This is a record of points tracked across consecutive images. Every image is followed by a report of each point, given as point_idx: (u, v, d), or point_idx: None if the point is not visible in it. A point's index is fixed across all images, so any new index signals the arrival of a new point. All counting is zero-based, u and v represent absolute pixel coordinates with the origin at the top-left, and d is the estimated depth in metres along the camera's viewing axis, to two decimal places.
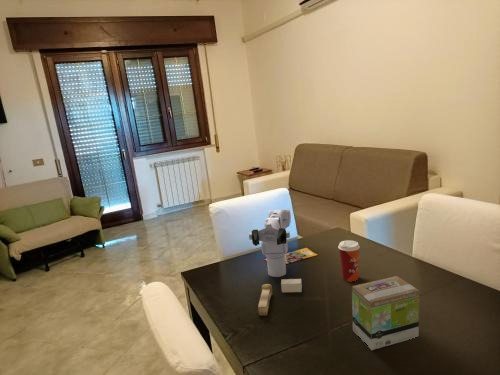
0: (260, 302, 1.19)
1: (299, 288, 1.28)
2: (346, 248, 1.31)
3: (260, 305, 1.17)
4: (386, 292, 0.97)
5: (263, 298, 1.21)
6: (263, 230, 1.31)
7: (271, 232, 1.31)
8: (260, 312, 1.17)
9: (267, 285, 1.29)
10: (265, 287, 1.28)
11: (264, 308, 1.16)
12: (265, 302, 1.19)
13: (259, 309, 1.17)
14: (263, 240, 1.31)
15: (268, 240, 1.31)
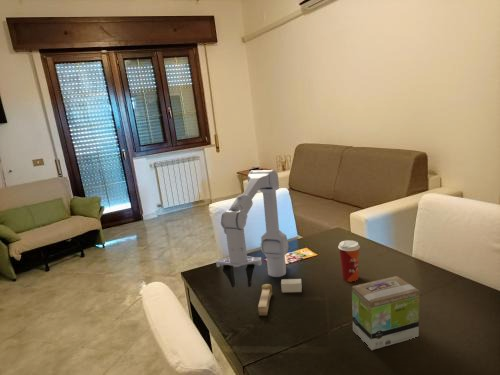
0: (260, 302, 1.19)
1: (299, 288, 1.28)
2: (346, 248, 1.31)
3: (260, 305, 1.17)
4: (386, 292, 0.97)
5: (263, 298, 1.21)
6: None
7: None
8: (260, 312, 1.17)
9: (267, 285, 1.29)
10: (265, 287, 1.28)
11: (264, 308, 1.16)
12: (265, 302, 1.19)
13: (259, 309, 1.17)
14: None
15: None
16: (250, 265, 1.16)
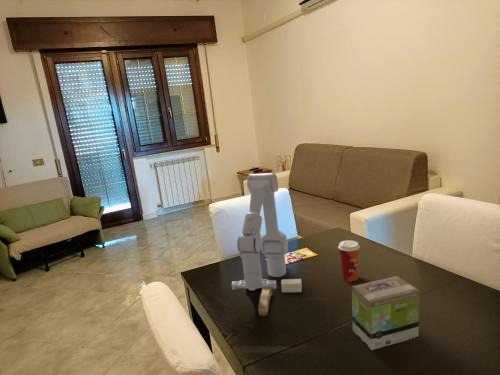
0: (260, 302, 1.19)
1: (299, 288, 1.28)
2: (346, 248, 1.31)
3: (260, 305, 1.17)
4: (386, 292, 0.97)
5: (263, 298, 1.21)
6: None
7: None
8: (260, 312, 1.17)
9: None
10: None
11: (264, 308, 1.16)
12: (265, 302, 1.19)
13: (259, 309, 1.17)
14: None
15: None
16: None
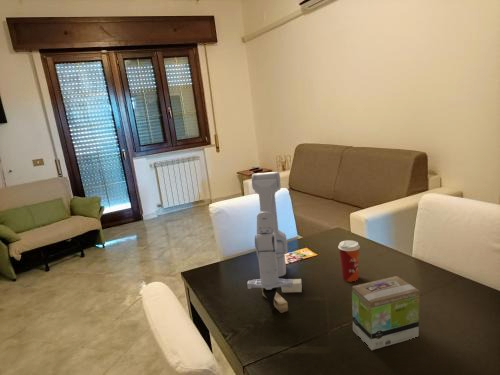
0: (277, 300, 1.19)
1: (299, 288, 1.28)
2: (346, 248, 1.31)
3: (280, 302, 1.17)
4: (386, 292, 0.97)
5: (276, 296, 1.21)
6: None
7: None
8: (282, 309, 1.17)
9: None
10: None
11: (285, 304, 1.17)
12: (282, 299, 1.20)
13: (281, 306, 1.17)
14: None
15: None
16: None
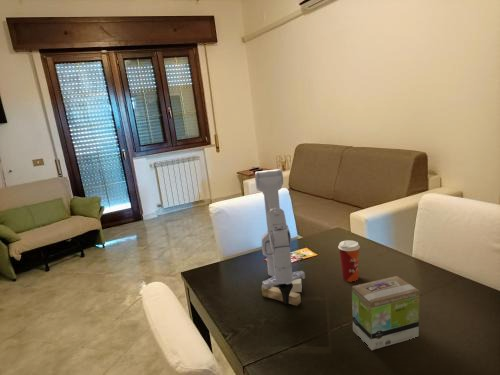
0: (289, 295, 1.22)
1: (299, 288, 1.28)
2: (346, 248, 1.31)
3: (294, 296, 1.21)
4: (386, 292, 0.97)
5: None
6: None
7: None
8: (297, 302, 1.20)
9: None
10: (268, 287, 1.28)
11: (299, 296, 1.21)
12: (292, 292, 1.23)
13: (296, 299, 1.20)
14: None
15: None
16: None
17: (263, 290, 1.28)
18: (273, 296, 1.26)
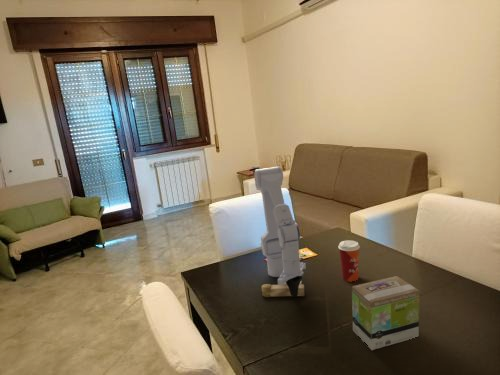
0: None
1: None
2: (346, 248, 1.31)
3: (301, 287, 1.26)
4: (386, 292, 0.97)
5: None
6: None
7: None
8: None
9: (264, 286, 1.29)
10: (268, 286, 1.28)
11: (303, 286, 1.27)
12: None
13: (303, 289, 1.26)
14: None
15: None
16: None
17: (265, 290, 1.27)
18: (277, 294, 1.27)
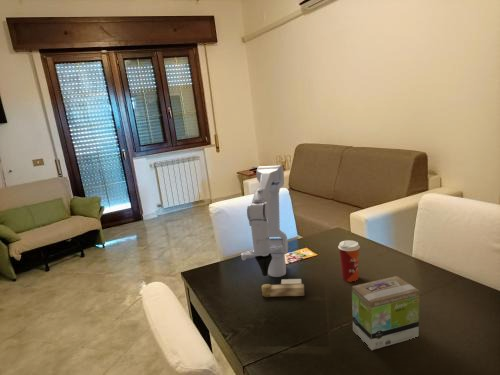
0: (295, 287, 1.26)
1: None
2: (346, 248, 1.31)
3: (301, 286, 1.26)
4: (386, 292, 0.97)
5: (289, 286, 1.27)
6: None
7: None
8: None
9: (264, 286, 1.29)
10: (268, 286, 1.28)
11: (303, 286, 1.27)
12: (296, 284, 1.28)
13: (303, 289, 1.26)
14: None
15: None
16: (274, 253, 1.24)
17: (265, 290, 1.27)
18: (277, 293, 1.27)
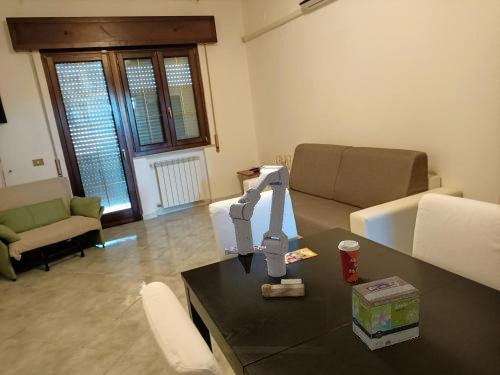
0: (295, 287, 1.26)
1: None
2: (346, 248, 1.31)
3: (301, 286, 1.26)
4: (386, 292, 0.97)
5: (289, 286, 1.27)
6: None
7: None
8: None
9: (264, 286, 1.29)
10: (268, 286, 1.28)
11: (303, 286, 1.27)
12: (296, 284, 1.28)
13: (303, 289, 1.26)
14: None
15: None
16: None
17: (265, 290, 1.27)
18: (277, 293, 1.27)
